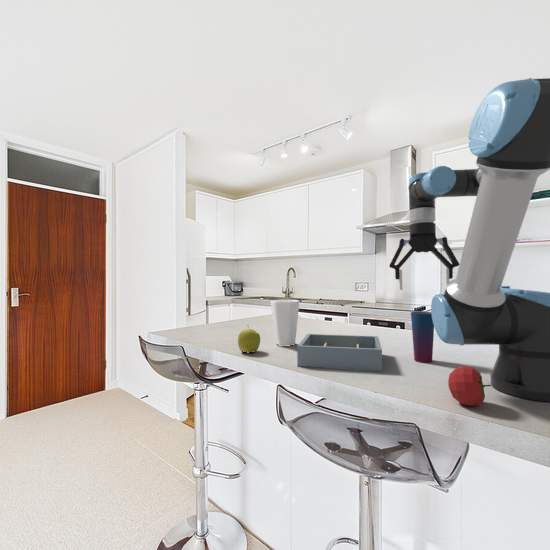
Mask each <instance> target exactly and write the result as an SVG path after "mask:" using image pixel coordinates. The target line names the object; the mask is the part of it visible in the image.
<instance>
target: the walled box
mask: <svg viewBox="0 0 550 550" xmlns="http://www.w3.org/2000/svg"><path fill="white" fill-rule="evenodd" d="M296 346H297V347H296V350H297V351H296V352H297V353H296V354H297V355H296V356H297V357H296V358H297V366H298V365H299V366H298V367H301V366H312V367H311V368H318V367H322V368H323V369H335V370H337V369H339V370H357V371H373V372H375V371H376V372H383V348H382V345H381V342H380V338H379V335H350V334H349V335H348V334H347V335H346V334H323V333H322V334H321V333H318V334H317V333H307V334H306V335H305V336H304V337H303V338H302V340H301V341H300V342H299V344H298V345H296ZM322 368H321V369H322Z"/></svg>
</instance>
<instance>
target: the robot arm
mask: <svg viewBox="0 0 550 550" xmlns="http://www.w3.org/2000/svg"><path fill="white" fill-rule="evenodd" d="M468 140H469V142H468V147H469V151H470V153H472V155H474V156H476V157H477V158H476V162H475V165H476V166H477V167H478V168H472V169H470V168H469V169H452V167H451V168H450V167H449V166H446V165H439V166H435V167H434V168H432V169H430V170H429V171H428V172H427V171H425V172H418V173H416V174H413V175H411V176H410V177H409V181H408V201H409V202H408V203H409V204H408V206H409V209H408V211H409V224H410V225H409V239H404V238H401V239H400V240H399V241H398V243H399V244H398V248H397V249H396V251H395V253H394V255H393V257H392V259H391V262H390V264H389V268H390V269H394V271H395V273H394V276H395V277H394V278H395V280H398V290H399V291H403V269H401V267H402V266H403V265H404V264H405V263H406V262H407V260H408V259H409V258H411V256H412V254H414V252H415V253H417V254H418V253H419V254H420V253H429V252H430V253H432V254H433V255H434V256H435V257H436V258H437V259H438V260H439V261H440V262H441V264H443V265H444V266H445V267H446V268H444V270H443V271H444V275H443V276H444V278H443V279H444V290H445V291H444V293H443V294H442V293H438V294H435V295H434V296H433V297H432V298H431V304H430V312H431V314H432V320H433V324H434V331H435V332H436V334H437V336H438V337H439V339H440V340H441V341H442V342H443V343H445V344H448V345H458V346H464V345H468V346H469V345H477V346H478V345H479V346H480V345H484V346H485V345H486V346H487V345H495V346H496V345H498V355H497V358H496V360H495V363H494V365H493V368H492V371H491V373H490V385H491V387H493V388H494V389H495V390H498V391H500V392H502V393H504V394H506V395H509V396H510V395H511V396H513V397H517V398H521V399H526V400H532V401H537V402H538V401H539V402H548V403H549V402H550V292H546V291H538V290H537V291H536V290H530V289H529V290H528V289H520V288H509V287H507V288H506V287H502V286H503V282H504V279H505V276H506V273H507V270H508V266H509V264H510V261H511V258H512V255H513V251H514V249H515V247H516V243H517V240H518V237H519V234H520V231H521V229H522V225H523V223H524V220H525V217H526V213H527V210H528V208H529V205H530V201H531V199H532V195H533V192H534V190H535V188H536V184H537V181H538V178H539V177H540V176H541V175H543V174H545V173H546V172H548V171H550V77H549V78H547V77H546V78H544V77H543V78H524V79H519V80H513V81H512V80H510V81H506V82H502V83H500V84H498V85H497V86H495V87H494V88H492V89H491V91H490V92H488V93H487V95H486V96H485V97H484V98H483V99H482V101H481V102H480V104H479V105H478V107H477V109H476V111H475V113H474V116H473V117H472V121H471V123H470V128H469V131H468ZM453 197H455V198H456V197H459V198H460V197H476V198H475V202H474V207H473V211H472V214H471V218H470V221H469V222H470V223H469V226H468V228H467V229H468V230H467V234H466V237H465V241H464V245H463V249H462V253H461V256H460V257H461V258H460V262H459V261H458V259H457V258H456V255H455V254H454V252H453V250H452V249H451V248H450V245H449V243H448V237H446V236H443V237H441V238H437V236H436V235H437V234H436V223H435V221H436V199H438V198H453ZM437 243H438V244H439V245H440V246H442V249H443V250H444V252H445V254H446V256H447V258H448V259H449V260H450V261H449V260H448V259H447V258H446V257H445V256H444V255H443V253H441V252H440V251H439V249H438V248H436V244H437ZM407 244H408V245H409V246H410V249H409V250H408V252H407V253H406V254H405V255H404V256H403V257H402V259H401V260H399V262H398V263H397V264H396V262H397V260H398V259H399V256H401V255H400V254H401V253H402V250H403V248H404V247H406V245H407ZM456 267H458V268H457V273H456V277H455V278H454V279H453V277H454V268H456Z"/></svg>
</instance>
